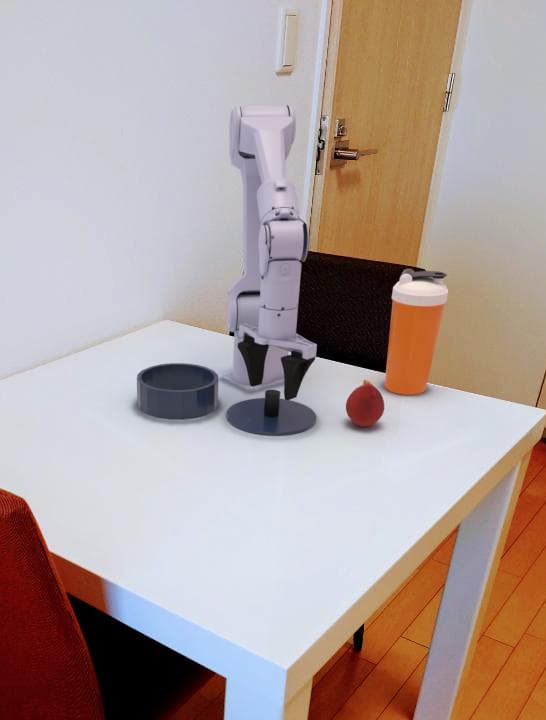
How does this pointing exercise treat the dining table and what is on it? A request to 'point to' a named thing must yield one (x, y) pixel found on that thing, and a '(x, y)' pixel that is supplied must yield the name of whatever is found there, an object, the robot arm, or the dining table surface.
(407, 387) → the shaker bottle
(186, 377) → the pot
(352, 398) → the onion
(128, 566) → the dining table surface
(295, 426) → the lid
